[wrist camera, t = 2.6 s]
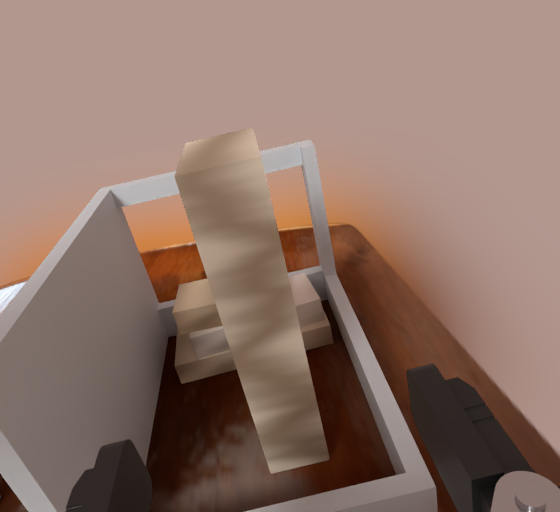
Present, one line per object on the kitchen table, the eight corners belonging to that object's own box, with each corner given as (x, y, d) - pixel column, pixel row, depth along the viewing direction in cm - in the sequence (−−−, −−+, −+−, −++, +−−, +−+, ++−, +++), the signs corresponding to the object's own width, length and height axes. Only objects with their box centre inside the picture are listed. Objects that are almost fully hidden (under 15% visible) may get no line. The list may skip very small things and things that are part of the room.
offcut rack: (100, 608, 21) (-61, 392, 15) (159, 333, 41) (99, 188, 35) (438, 526, 22) (421, 278, 15) (336, 291, 41) (309, 139, 35)
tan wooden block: (270, 474, 26) (174, 176, 18) (262, 398, 31) (185, 143, 23) (330, 459, 26) (261, 156, 18) (311, 386, 31) (252, 127, 23)
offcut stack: (182, 386, 34) (157, 323, 32) (184, 345, 39) (162, 287, 36) (334, 345, 35) (321, 279, 32) (318, 309, 40) (306, 249, 37)
